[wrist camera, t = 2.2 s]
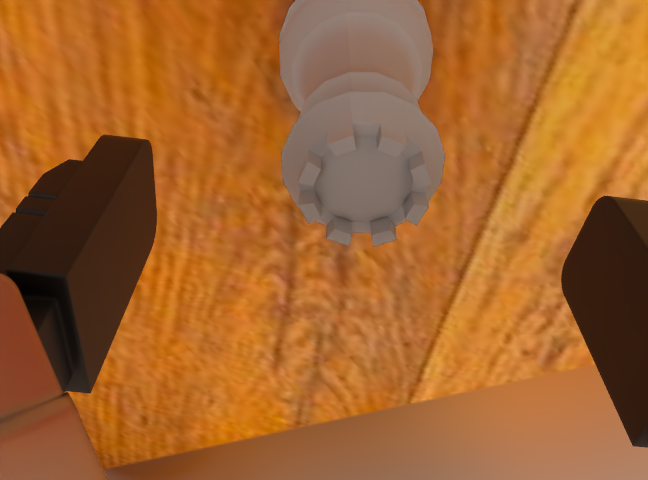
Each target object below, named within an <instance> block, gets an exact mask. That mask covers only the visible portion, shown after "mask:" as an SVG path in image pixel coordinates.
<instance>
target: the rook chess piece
mask: <svg viewBox="0 0 648 480" xmlns="http://www.w3.org/2000/svg"><path fill="white" fill-rule="evenodd" d="M279 44H280V46H279V57H280V77H281V79H282V81H283V83H284V85H285V87H286V90H287V92H288V94H289V96H290V98H291V100H292V102H293V104H294V106H295V107H296V108H297V109H298V110H299V111H300V112H301V113H300V115H299V117H298V120H297V122H296V123H295V124H294V125H293V127H292V129H291V132H290V134H289V136H288V139H287V141H286V143H285V146H284V148H283V150H282V153H281V154H282V174H283V182H284V184H285V186H286V188H287V189H288V191H289V193H290V195H291V197H292V199H293V201H294V203H295V204H296V205H297V206H298V207H299V208H300V209H301V211H302V213H303V215H304V217H305V218H306V220H307V222H308V224H310V223H312V222H314V221H316V222H318V223H321V224H324V225H327V231H326V239H329V240H332V241H335V242H338V243H341V244H344V245H347V246H349V244H350V241H351V238H352V232H353V233H371V236H372V241H373V247H374V246H378V245H381V244H384V243H388V242H391V241H394V240H397V236H396V228H395V226H396V225H399V224H402V223H403V222H405V221H406V220H407V221H409V222H411V223H412V224H414V225H416V226H417V224H418V223H419V221H420V220H421V218H422V217H423V215H424V214H425V212H426V211H427V209H428V208H429V204H428V202H429V200H430V199H431V197H432V196H433V194H434V193H435V191H436V190H437V188H438V186H439V185H440V183H441V179H442V173H443V166H444V160H445V153H444V149H443V146H442V143H441V140H440V137H439V134H438V130H437V127H436V126H435V125H434V124H433V123H432V122H431V121H430V120H429V119H428V118H427V117H426V116H425V115H424V114H423V113H422V112H421V110H420V107H419V104H418V100H419V98H420V97H421V95H422V93H423V91H424V89H425V88H426V86H427V84H428V82H429V79H430V74H431V66H432V58H433V50H434V48H433V45H432V36H431V32H430V29H429V25H428V22H427V18H426V15H425V11H424V8H423V7H422V6H421V4H420V3H419V2H418V1H417V0H296V1H295V2H294V3H293V4H292V5H291V6H290V8H289V10H288V13H287V16H286V18H285V21H284V24H283V27H282V29H281V32H280V35H279Z"/></svg>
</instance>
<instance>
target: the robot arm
mask: <svg viewBox="0 0 648 480" xmlns="http://www.w3.org/2000/svg"><path fill="white" fill-rule="evenodd" d="M156 225H157V209H156V195H155V181H154V167H153V154H152V147H151V144H150V142H149V140H146V139H137V138H129V137H121V136H112V135H102V136H101V137H100V138H99V139H98V141H97V142H96V144H95V145H94V146H93V148H92V149H91V151H90V152H89V153H88V155H87V156H86V158H85V159H84V160H83V161H79V160H70V159H69V160H67V161H65V162H64V163H62V164H60V165H58V166H57V167H55V168H53V169H51V170H50V171H48V172H46V173H44V174H43V175H42V177H41V178H40V179H39V180H38V182H37V183H36V184H35V185H34V187H33V188H32V189H31V190H30V192H29V196H28V197H25V198H24V199H23V200H22V202H21V203H20V204H19V205H18V207H17V208H16V213H12V214H11V215H10V217H9V218H8V219H7V220H6V222H5V223H4V224H3V225H2V227H1V228H0V480H108V479H107V477H106V475H105V473H104V470H103V468H102V465H101V463H100V461H99V459H98V456H97V454H96V452H95V450H94V447H93V445H92V443H91V440H90V438H89V436H88V434H87V431H86V429H85V427H84V425H83V422H82V420H81V418H80V415H79V413H78V411H77V409H76V407H75V404H74V402H73V400H72V398H71V397H70V395H69V394H68V393H67V392H66V393H64V392H65V391H71V392H82V393H91V391H92V389H93V386H94V384H95V382H96V379H97V377H98V374H99V372H100V370H101V367H102V365H103V363H104V360H105V358H106V356H107V353H108V351H109V348H110V346H111V344H112V341H113V339H114V337H115V334H116V332H117V329H118V327H119V325H120V322H121V320H122V318H123V315H124V313H125V310H126V308H127V306H128V303H129V301H130V299H131V296H132V294H133V292H134V289H135V287H136V284H137V282H138V280H139V277H140V275H141V273H142V270H143V268H144V265H145V263H146V261H147V258H148V256H149V254H150V251H151V249H152V246H153V243H154V239H155V233H156ZM561 283H562V290H563V293H564V296H565V298H566V300H567V303H568V305H569V307H570V309H571V311H572V313H573V316H574V318H575V320H576V322H577V324H578V327H579V329H580V331H581V333H582V335H583V338H584V340H585V342H586V344H587V346H588V349H589V351H590V353H591V355H592V357H593V360H594V362H595V364H596V366H597V368H598V371H599V373H600V375H601V377H602V379H603V381H604V384H605V386H606V388H607V390H608V393H609V395H610V397H611V399H612V401H613V403H614V406H615V408H616V410H617V412H618V414H619V416H620V419H621V421H622V423H623V425H624V428H625V430H626V432H627V434H628V436H629V439H630V441H631V443H632V445H633V446H639V447H648V201H645V200H637V199H629V198H620V197H612V196H603V197H601V198H599V199H598V200H597V201H596V202H595V204H594V205H593V207H592V209H591V211H590V213H589V215H588V217H587V219H586V221H585V223H584V225H583V227H582V228H581V230H580V232H579V234H578V236H577V238H576V240H575V242H574V244H573V246H572V248H571V250H570V252H569V254H568V256H567V258H566V260H565V262H564V266H563V270H562V278H561Z"/></svg>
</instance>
